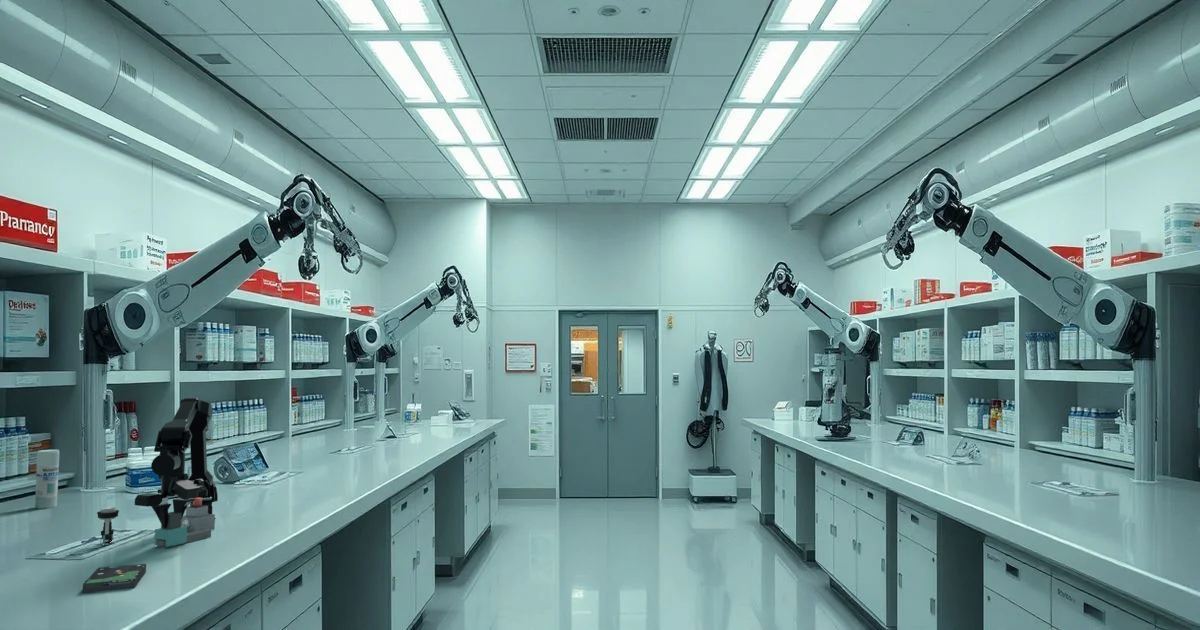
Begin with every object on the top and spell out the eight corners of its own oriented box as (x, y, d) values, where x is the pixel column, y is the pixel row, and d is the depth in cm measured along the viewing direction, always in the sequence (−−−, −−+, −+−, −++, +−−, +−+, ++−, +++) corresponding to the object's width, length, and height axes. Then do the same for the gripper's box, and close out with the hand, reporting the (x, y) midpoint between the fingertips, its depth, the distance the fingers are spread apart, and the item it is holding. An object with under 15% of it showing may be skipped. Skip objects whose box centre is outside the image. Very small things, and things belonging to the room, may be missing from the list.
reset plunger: (191, 506, 232) (191, 498, 233) (197, 505, 235) (198, 497, 235) (196, 507, 231) (196, 499, 232) (203, 506, 234) (203, 497, 234)
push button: (116, 545, 213) (118, 509, 214) (94, 547, 211) (95, 511, 211) (118, 540, 219) (120, 505, 220) (96, 542, 217) (98, 507, 217)
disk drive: (96, 579, 182) (81, 595, 169) (97, 567, 183) (82, 582, 169) (146, 574, 186) (135, 590, 173) (146, 562, 187) (136, 577, 173)
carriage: (167, 546, 210) (168, 516, 210) (154, 545, 212) (155, 514, 212) (186, 542, 215) (187, 512, 216) (173, 540, 217) (174, 510, 218)
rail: (164, 548, 210) (164, 540, 210) (156, 547, 211) (157, 539, 211) (210, 536, 224) (211, 530, 224) (203, 536, 225) (203, 529, 225)
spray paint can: (50, 504, 275) (52, 449, 276) (61, 506, 272) (63, 450, 273) (30, 507, 269) (33, 451, 270) (41, 509, 266) (44, 451, 268)
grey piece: (177, 532, 230) (178, 507, 231) (198, 527, 237) (199, 503, 238) (193, 534, 228) (194, 509, 228) (214, 529, 234) (215, 505, 235)
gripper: (162, 476, 203) (160, 536, 202) (221, 468, 220) (220, 522, 219) (134, 474, 207) (132, 532, 206) (194, 466, 225) (192, 519, 224)
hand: (171, 526), depth 214 cm, fingers closed on carriage, 3 cm apart
